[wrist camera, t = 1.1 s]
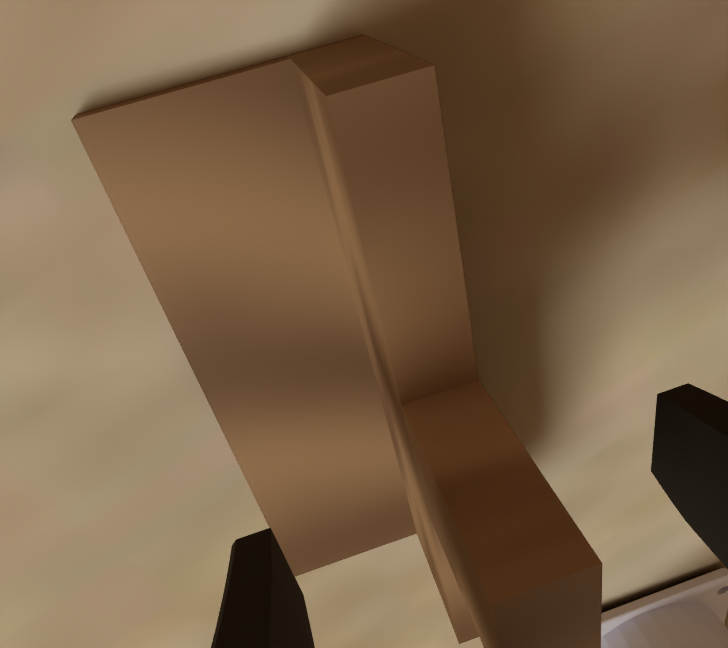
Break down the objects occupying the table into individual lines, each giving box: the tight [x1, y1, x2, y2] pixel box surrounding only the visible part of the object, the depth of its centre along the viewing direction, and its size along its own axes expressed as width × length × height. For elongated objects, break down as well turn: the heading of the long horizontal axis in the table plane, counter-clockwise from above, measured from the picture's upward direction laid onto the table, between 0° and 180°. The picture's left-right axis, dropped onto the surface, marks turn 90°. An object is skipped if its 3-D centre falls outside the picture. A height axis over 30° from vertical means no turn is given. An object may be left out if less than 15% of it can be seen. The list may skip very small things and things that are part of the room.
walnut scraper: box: [71, 35, 602, 648], centre depth 12 cm, size 14×6×8 cm, turn 12°
